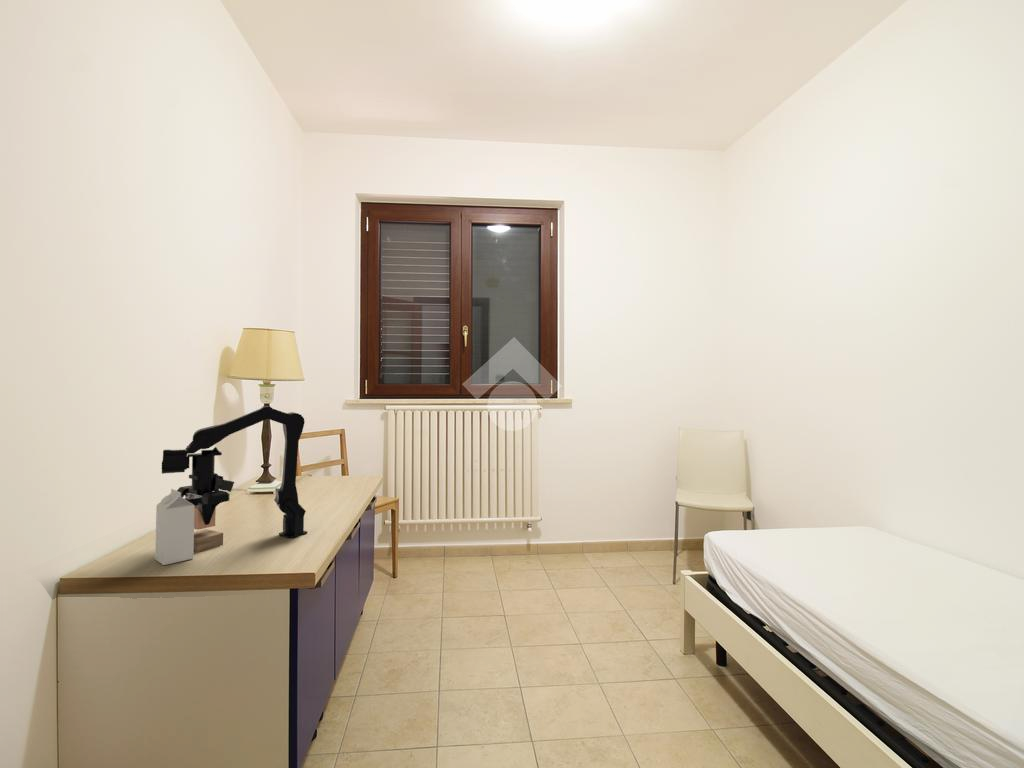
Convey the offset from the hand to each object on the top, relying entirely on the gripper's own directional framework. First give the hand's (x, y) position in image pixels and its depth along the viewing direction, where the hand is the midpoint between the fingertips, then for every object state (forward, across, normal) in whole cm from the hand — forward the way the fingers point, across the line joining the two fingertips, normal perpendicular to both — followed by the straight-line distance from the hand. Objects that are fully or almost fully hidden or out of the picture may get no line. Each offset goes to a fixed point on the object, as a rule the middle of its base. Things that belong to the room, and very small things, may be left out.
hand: (202, 523), depth 149 cm
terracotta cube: (+1, 0, 0) cm, 1 cm away
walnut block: (+7, 0, 0) cm, 7 cm away
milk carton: (+7, -5, +10) cm, 13 cm away
